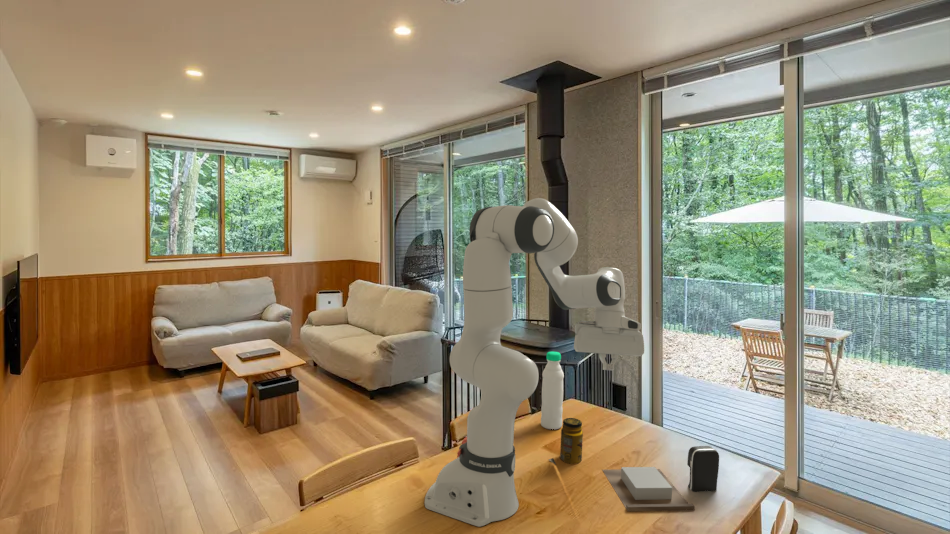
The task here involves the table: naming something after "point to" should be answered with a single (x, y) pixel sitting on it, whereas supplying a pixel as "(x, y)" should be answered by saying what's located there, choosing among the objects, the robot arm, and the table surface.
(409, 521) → the table surface
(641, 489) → the grey rectangular block
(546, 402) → the water bottle
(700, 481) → the battery charger
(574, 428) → the condiment
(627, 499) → the board
